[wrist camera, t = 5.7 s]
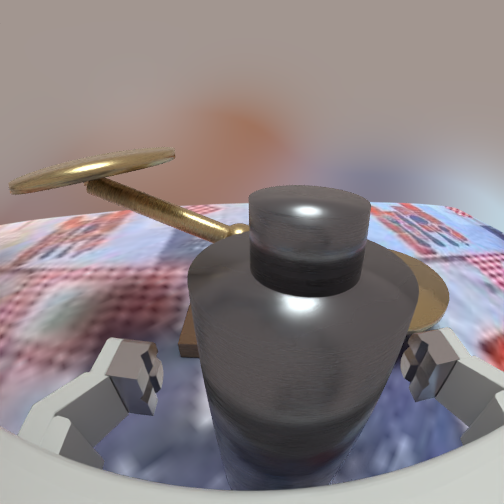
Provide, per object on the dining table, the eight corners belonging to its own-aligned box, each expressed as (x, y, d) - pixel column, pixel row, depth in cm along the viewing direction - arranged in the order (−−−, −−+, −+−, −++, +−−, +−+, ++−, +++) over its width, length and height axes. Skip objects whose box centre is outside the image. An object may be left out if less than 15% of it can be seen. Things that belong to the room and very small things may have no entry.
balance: (34, 355, 16) (-24, 194, 11) (93, 279, 27) (70, 159, 22) (458, 354, 16) (514, 185, 11) (400, 276, 27) (419, 153, 22)
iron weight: (224, 512, 9) (137, 254, 3) (228, 428, 13) (202, 177, 8) (336, 505, 9) (490, 250, 3) (323, 425, 13) (375, 179, 8)
